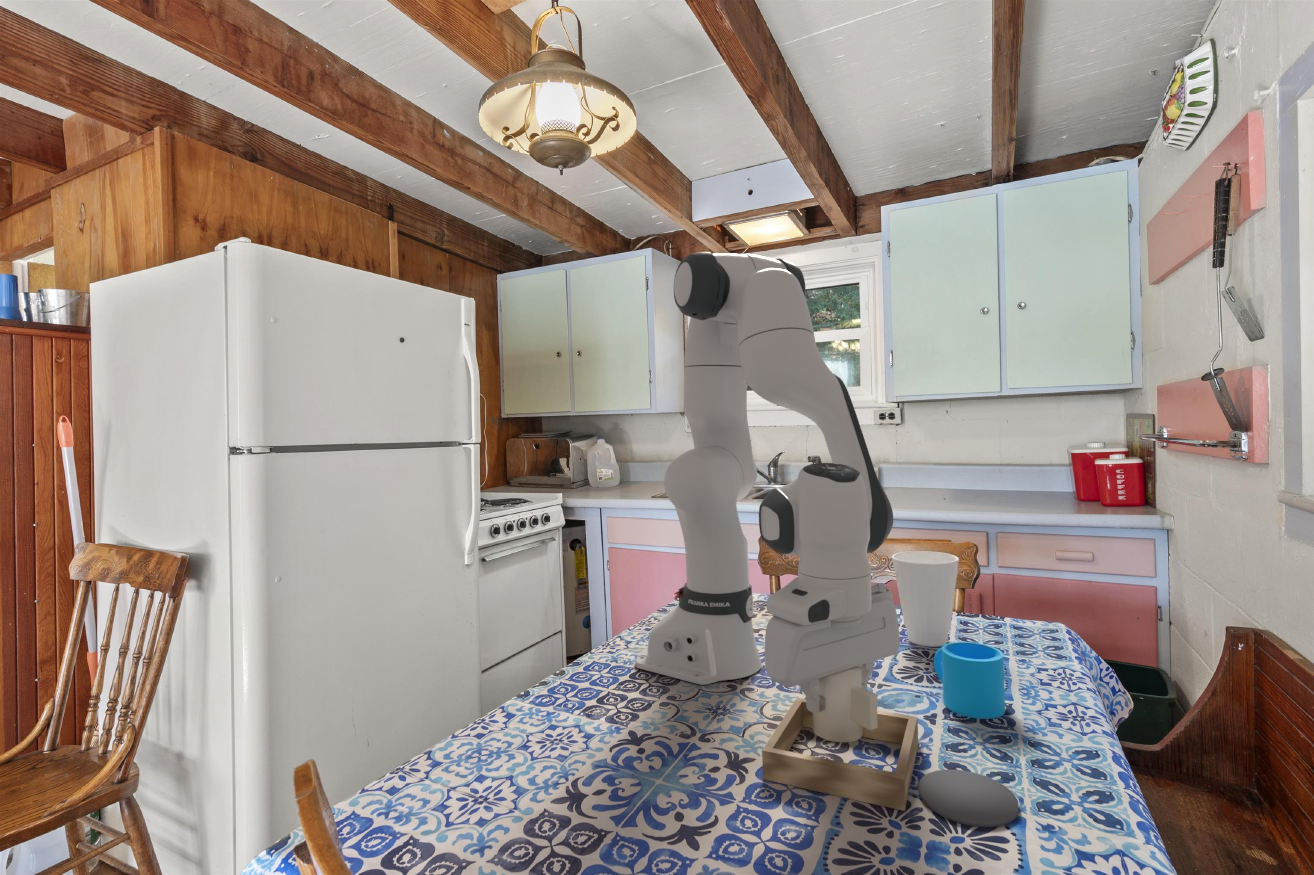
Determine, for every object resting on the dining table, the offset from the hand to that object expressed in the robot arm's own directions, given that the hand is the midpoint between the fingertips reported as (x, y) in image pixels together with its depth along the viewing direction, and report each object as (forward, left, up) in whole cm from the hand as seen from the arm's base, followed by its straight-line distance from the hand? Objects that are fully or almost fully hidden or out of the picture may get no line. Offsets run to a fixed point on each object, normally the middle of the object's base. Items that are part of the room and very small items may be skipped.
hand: (837, 703), depth 80 cm
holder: (+1, 0, -7) cm, 7 cm away
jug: (+1, -1, -4) cm, 4 cm away
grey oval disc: (+15, -3, -7) cm, 16 cm away
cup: (+7, +50, -8) cm, 51 cm away
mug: (+14, +24, -8) cm, 29 cm away
